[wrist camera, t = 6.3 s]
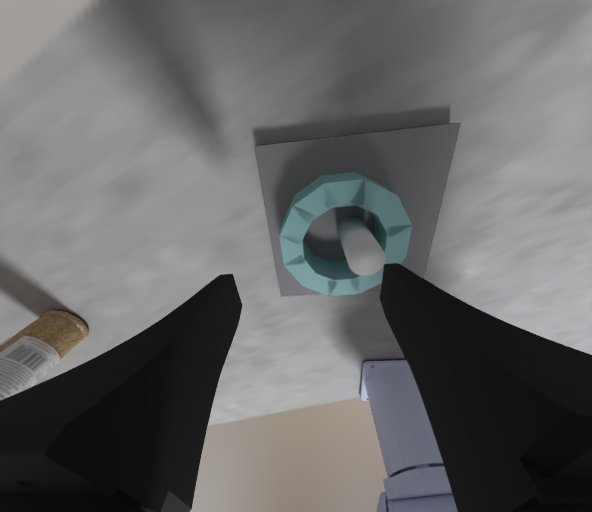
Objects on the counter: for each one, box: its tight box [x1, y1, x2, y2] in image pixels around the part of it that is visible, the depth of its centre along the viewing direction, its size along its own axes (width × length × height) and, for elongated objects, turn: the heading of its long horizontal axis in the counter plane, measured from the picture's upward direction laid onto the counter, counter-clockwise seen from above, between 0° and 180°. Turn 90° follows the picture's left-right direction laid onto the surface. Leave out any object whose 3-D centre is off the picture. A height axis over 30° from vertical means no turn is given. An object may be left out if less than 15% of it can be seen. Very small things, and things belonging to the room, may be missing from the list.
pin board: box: [255, 123, 461, 297], centre depth 14 cm, size 12×12×6 cm
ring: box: [279, 172, 412, 296], centre depth 15 cm, size 8×8×2 cm
